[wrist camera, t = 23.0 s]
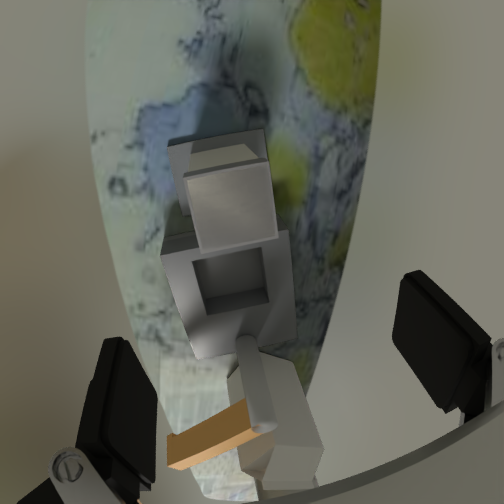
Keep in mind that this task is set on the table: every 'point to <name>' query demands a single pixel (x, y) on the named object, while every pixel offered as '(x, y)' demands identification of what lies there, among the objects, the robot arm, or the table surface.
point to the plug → (230, 198)
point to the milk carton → (281, 431)
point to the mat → (182, 151)
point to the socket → (232, 291)
